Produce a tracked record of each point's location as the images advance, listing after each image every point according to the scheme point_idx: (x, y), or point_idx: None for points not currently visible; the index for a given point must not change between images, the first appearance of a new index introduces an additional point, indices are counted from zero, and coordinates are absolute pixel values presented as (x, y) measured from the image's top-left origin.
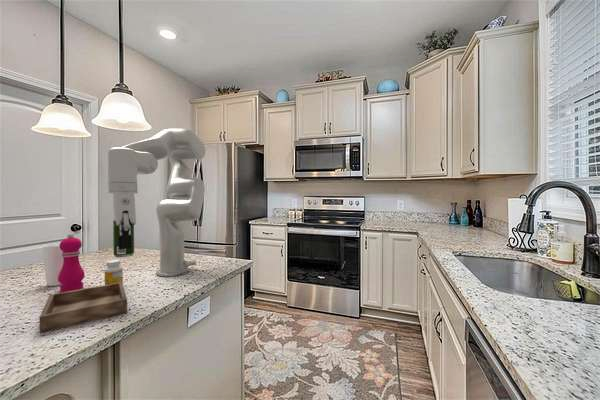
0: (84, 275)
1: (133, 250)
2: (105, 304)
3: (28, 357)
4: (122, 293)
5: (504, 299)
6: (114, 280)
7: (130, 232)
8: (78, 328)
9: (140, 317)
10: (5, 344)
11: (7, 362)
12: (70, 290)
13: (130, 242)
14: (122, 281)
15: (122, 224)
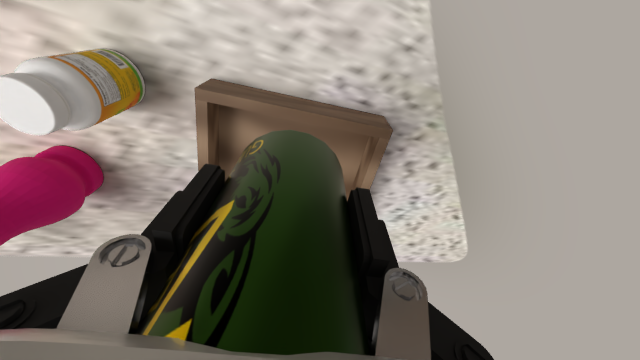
0: (33, 160)
1: (323, 148)
2: (374, 172)
3: (415, 247)
4: (331, 124)
5: None
6: (124, 91)
7: (425, 298)
8: (375, 197)
9: (440, 102)
10: None
11: (405, 260)
12: (101, 177)
13: (373, 215)
14: (106, 54)
15: None
